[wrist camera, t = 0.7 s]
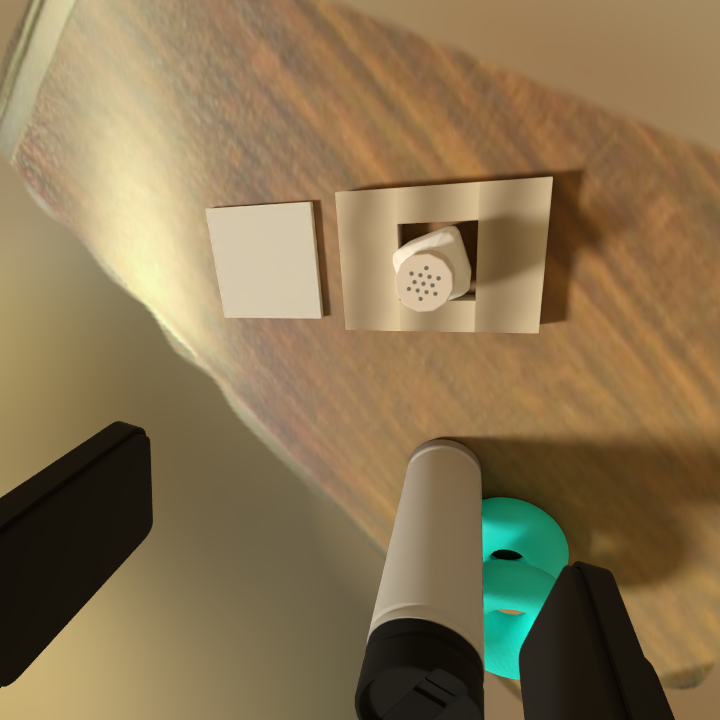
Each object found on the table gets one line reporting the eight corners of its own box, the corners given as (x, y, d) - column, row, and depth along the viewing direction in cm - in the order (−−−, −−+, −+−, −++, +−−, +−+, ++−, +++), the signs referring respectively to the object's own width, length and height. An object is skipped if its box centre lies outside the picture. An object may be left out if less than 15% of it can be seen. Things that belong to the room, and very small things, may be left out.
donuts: (498, 702, 32) (412, 614, 31) (494, 591, 41) (427, 519, 40) (624, 668, 28) (529, 565, 27) (589, 552, 37) (517, 471, 36)
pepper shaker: (457, 221, 30) (447, 233, 21) (474, 274, 31) (471, 306, 22) (404, 242, 31) (376, 261, 23) (422, 292, 32) (401, 328, 24)
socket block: (548, 177, 28) (552, 176, 26) (535, 325, 31) (538, 333, 29) (343, 192, 31) (335, 192, 29) (352, 322, 35) (345, 329, 33)
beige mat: (312, 201, 32) (309, 201, 32) (323, 316, 35) (321, 318, 35) (209, 208, 34) (205, 208, 34) (228, 315, 38) (224, 317, 37)
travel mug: (395, 475, 39) (327, 724, 21) (431, 425, 36) (388, 666, 18) (454, 510, 39) (435, 790, 21) (495, 462, 36) (515, 741, 18)
